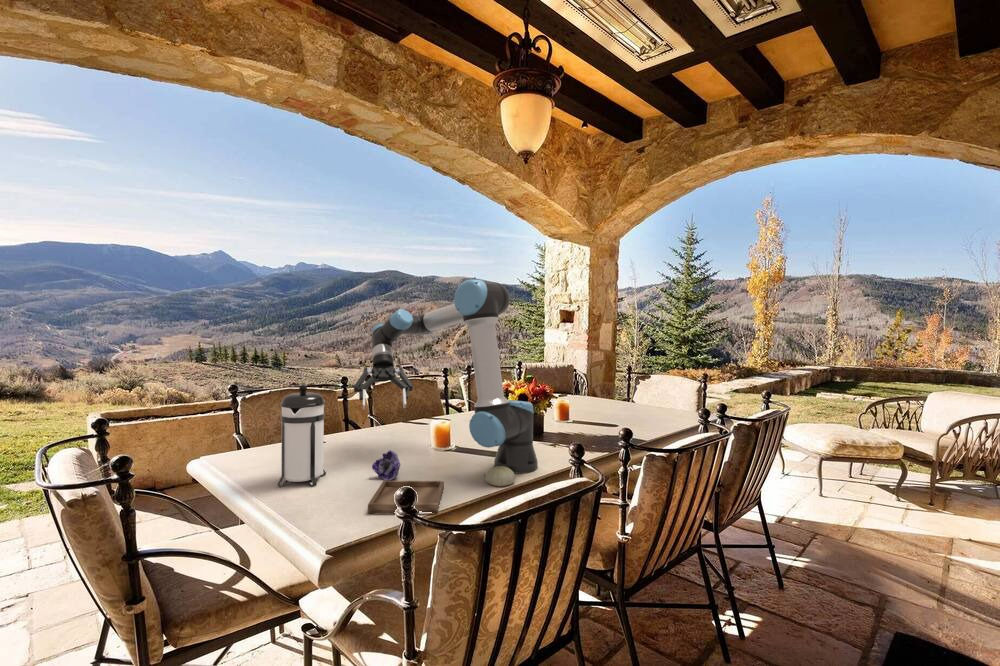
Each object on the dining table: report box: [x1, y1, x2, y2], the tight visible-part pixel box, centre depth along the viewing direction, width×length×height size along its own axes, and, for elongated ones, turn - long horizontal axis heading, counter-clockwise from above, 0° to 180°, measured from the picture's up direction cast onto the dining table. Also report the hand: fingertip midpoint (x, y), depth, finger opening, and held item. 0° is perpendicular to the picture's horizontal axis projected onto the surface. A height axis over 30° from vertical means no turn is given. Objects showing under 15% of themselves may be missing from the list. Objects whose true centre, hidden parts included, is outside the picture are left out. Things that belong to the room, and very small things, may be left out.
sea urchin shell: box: [484, 466, 516, 487], centre depth 143 cm, size 9×8×8 cm
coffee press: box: [277, 384, 327, 488], centre depth 143 cm, size 17×16×30 cm
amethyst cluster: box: [371, 449, 401, 481], centre depth 147 cm, size 9×9×10 cm
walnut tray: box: [367, 480, 445, 515], centre depth 128 cm, size 18×18×2 cm
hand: (384, 406), depth 157 cm, fingers open, 13 cm apart
